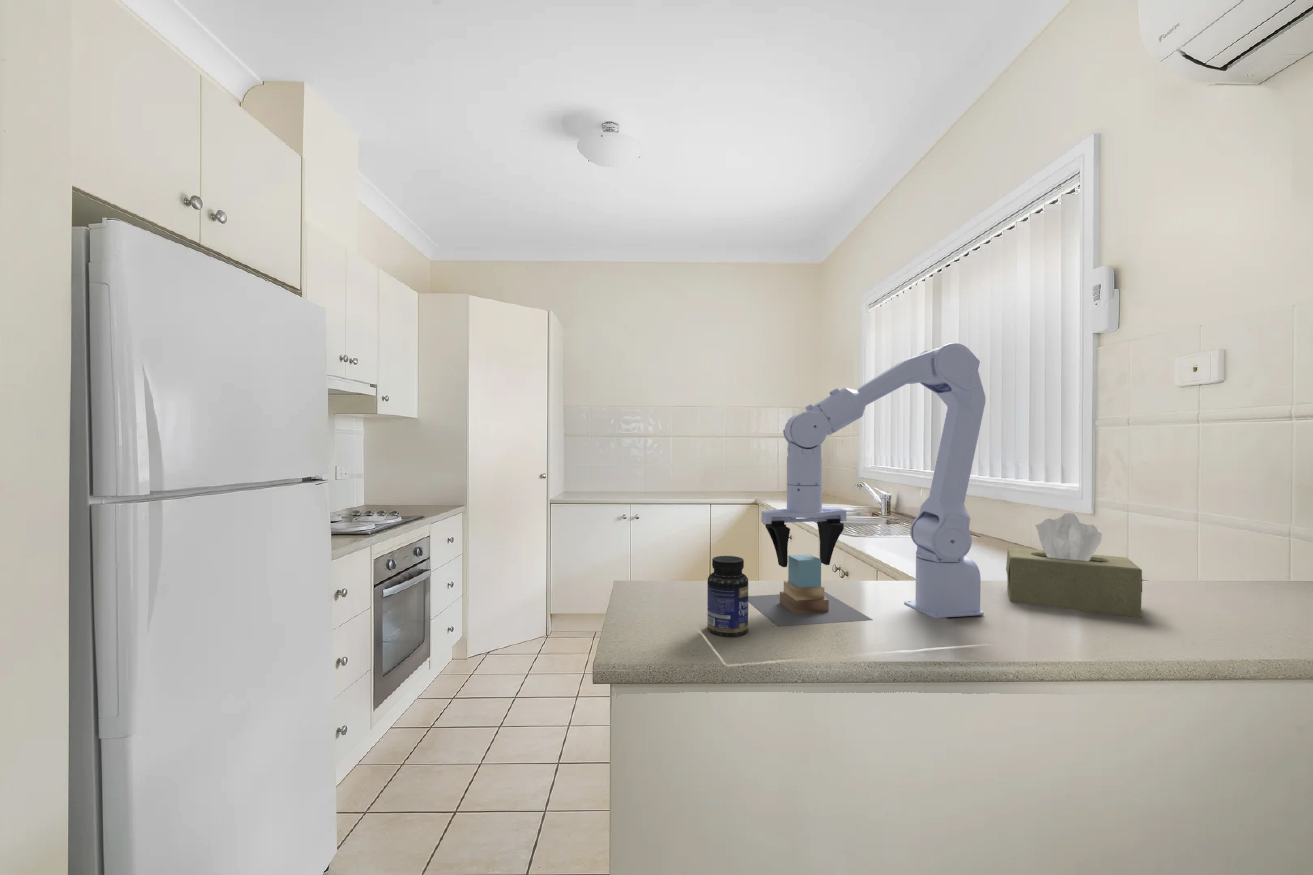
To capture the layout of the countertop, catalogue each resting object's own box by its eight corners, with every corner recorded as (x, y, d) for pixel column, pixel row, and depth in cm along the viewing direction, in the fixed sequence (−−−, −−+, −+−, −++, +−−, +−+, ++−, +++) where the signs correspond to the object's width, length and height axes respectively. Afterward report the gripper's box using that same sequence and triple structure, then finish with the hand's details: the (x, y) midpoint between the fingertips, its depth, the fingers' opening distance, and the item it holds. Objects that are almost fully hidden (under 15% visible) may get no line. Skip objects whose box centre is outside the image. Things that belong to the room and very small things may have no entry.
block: (809, 580, 101) (810, 554, 101) (820, 586, 97) (821, 559, 97) (788, 581, 100) (788, 555, 100) (798, 587, 96) (798, 560, 96)
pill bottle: (747, 640, 84) (747, 564, 84) (705, 637, 85) (705, 562, 85) (749, 626, 90) (749, 555, 90) (709, 623, 91) (709, 553, 91)
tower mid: (810, 590, 101) (810, 579, 101) (824, 599, 97) (824, 587, 97) (783, 592, 101) (783, 580, 100) (796, 600, 96) (796, 588, 96)
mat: (824, 593, 108) (824, 591, 108) (872, 621, 92) (872, 619, 92) (742, 598, 105) (742, 596, 105) (777, 628, 89) (777, 626, 89)
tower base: (811, 601, 102) (812, 589, 102) (828, 611, 96) (828, 599, 96) (779, 603, 101) (779, 591, 101) (794, 614, 95) (794, 601, 95)
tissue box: (1129, 603, 103) (1131, 513, 103) (1143, 619, 94) (1145, 521, 94) (1005, 588, 112) (1006, 506, 112) (1007, 602, 103) (1008, 513, 103)
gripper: (832, 481, 104) (832, 557, 104) (754, 483, 101) (754, 561, 101) (853, 485, 97) (852, 566, 97) (770, 487, 94) (770, 571, 94)
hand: (804, 564), depth 98 cm, fingers open, 7 cm apart
